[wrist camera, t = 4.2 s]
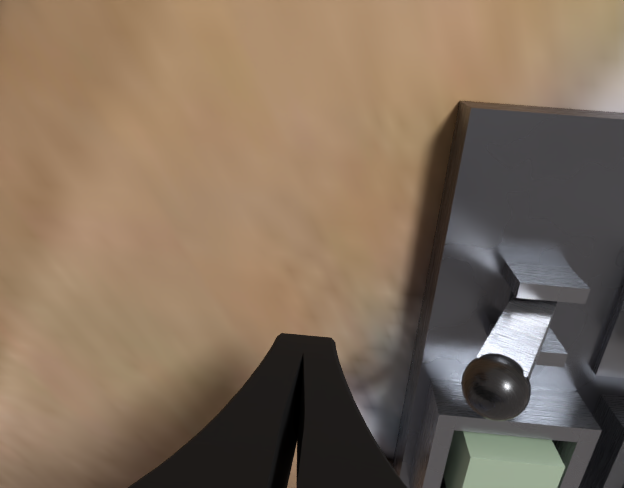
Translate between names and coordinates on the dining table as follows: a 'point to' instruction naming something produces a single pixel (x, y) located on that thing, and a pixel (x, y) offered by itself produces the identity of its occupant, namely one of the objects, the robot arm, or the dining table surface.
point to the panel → (526, 287)
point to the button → (501, 462)
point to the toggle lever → (508, 360)
